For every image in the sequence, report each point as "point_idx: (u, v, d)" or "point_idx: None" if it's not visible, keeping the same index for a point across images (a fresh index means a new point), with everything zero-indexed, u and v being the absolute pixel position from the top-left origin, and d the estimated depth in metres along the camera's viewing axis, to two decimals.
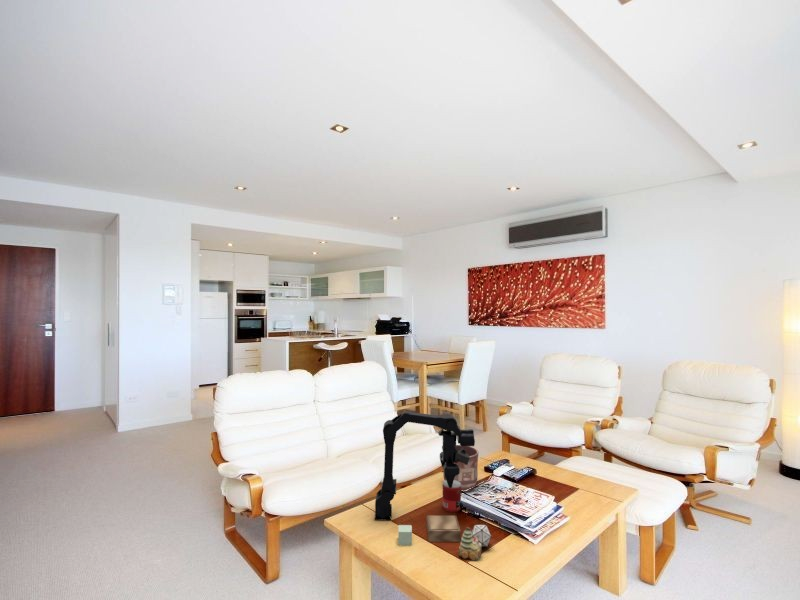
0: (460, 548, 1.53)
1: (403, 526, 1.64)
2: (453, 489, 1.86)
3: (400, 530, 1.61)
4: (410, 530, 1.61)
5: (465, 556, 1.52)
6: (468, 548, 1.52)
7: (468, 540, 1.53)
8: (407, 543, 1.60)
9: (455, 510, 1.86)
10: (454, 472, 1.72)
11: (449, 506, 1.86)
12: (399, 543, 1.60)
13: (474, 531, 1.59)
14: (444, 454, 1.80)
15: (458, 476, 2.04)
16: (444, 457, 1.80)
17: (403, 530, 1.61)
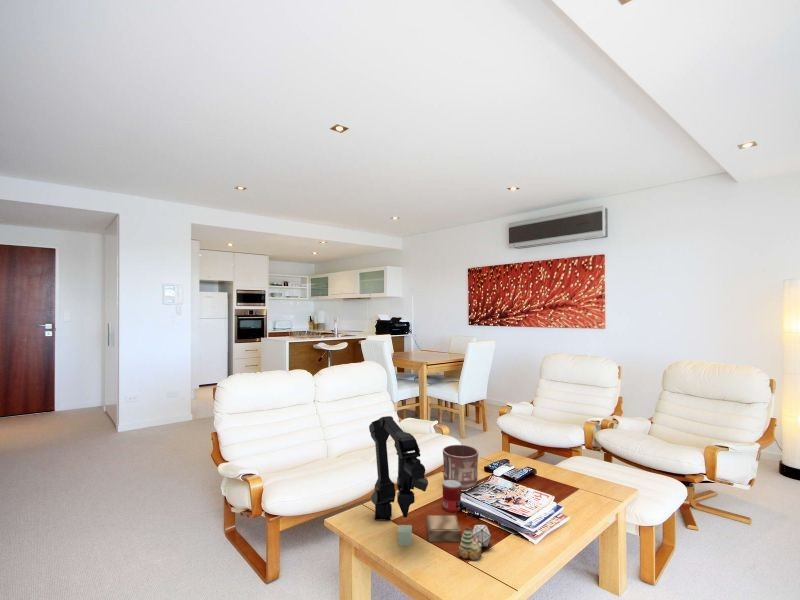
0: (460, 548, 1.53)
1: (403, 526, 1.64)
2: (453, 489, 1.86)
3: (400, 530, 1.61)
4: (410, 530, 1.62)
5: (465, 556, 1.52)
6: (468, 548, 1.52)
7: (468, 540, 1.53)
8: (407, 543, 1.60)
9: (455, 510, 1.86)
10: (408, 501, 1.54)
11: (449, 506, 1.86)
12: (399, 543, 1.60)
13: (474, 531, 1.59)
14: (399, 479, 1.61)
15: (458, 476, 2.04)
16: (399, 483, 1.61)
17: (403, 530, 1.62)
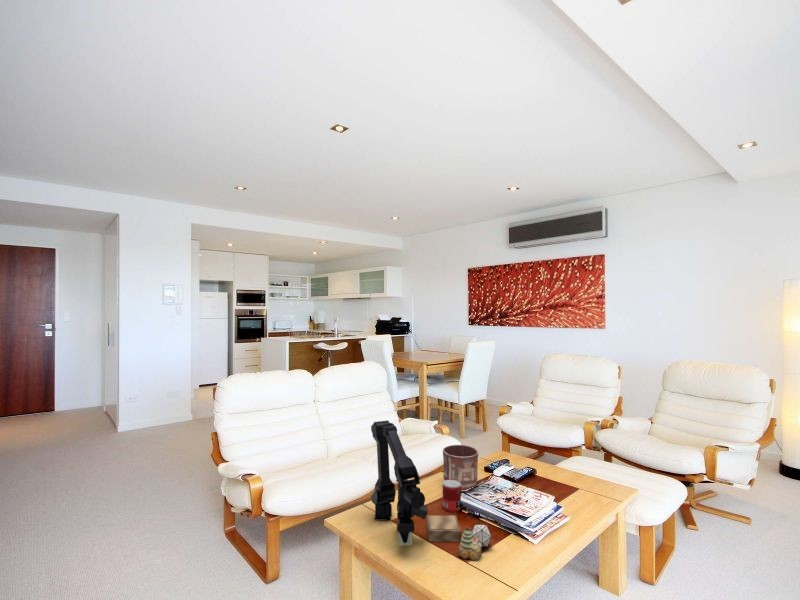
0: (460, 548, 1.53)
1: None
2: (453, 489, 1.86)
3: None
4: None
5: (465, 556, 1.52)
6: (468, 548, 1.52)
7: (468, 540, 1.53)
8: (407, 543, 1.60)
9: (455, 510, 1.86)
10: (408, 530, 1.54)
11: (449, 506, 1.86)
12: (399, 543, 1.60)
13: (474, 531, 1.59)
14: (399, 507, 1.61)
15: (458, 476, 2.04)
16: (399, 510, 1.61)
17: None
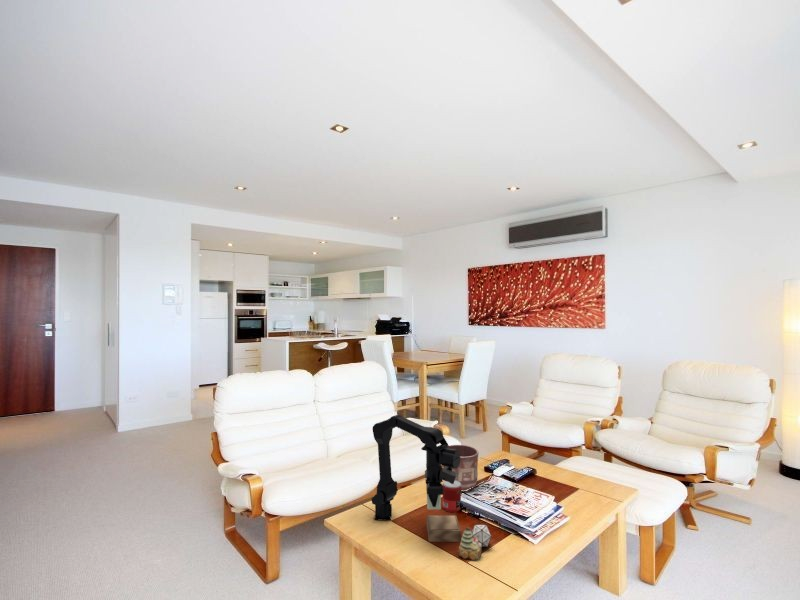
0: (460, 548, 1.53)
1: None
2: (453, 489, 1.86)
3: None
4: None
5: (465, 556, 1.52)
6: (468, 548, 1.52)
7: (468, 540, 1.53)
8: (436, 507, 1.65)
9: (455, 510, 1.86)
10: (437, 492, 1.58)
11: (449, 506, 1.86)
12: (428, 507, 1.65)
13: (474, 531, 1.59)
14: (428, 472, 1.66)
15: (458, 476, 2.04)
16: (428, 475, 1.66)
17: None
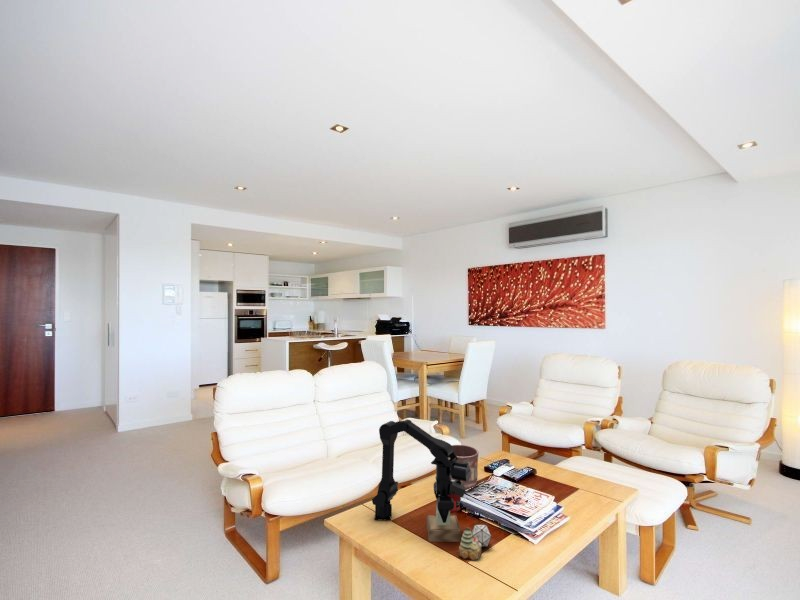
0: (460, 548, 1.53)
1: None
2: None
3: None
4: None
5: (465, 556, 1.52)
6: (468, 548, 1.52)
7: (468, 540, 1.53)
8: (446, 523, 1.67)
9: (455, 510, 1.86)
10: (448, 506, 1.60)
11: None
12: (438, 523, 1.67)
13: (474, 531, 1.59)
14: (438, 486, 1.67)
15: None
16: (438, 489, 1.67)
17: None
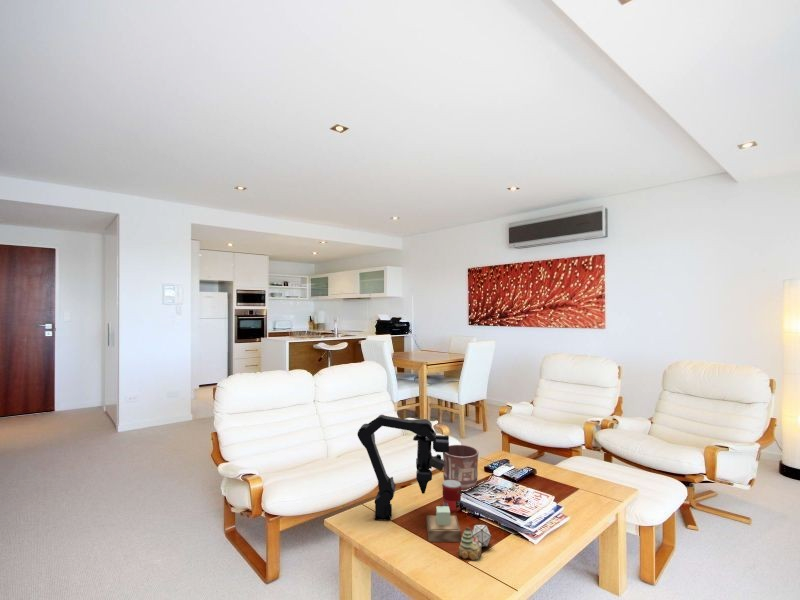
0: (460, 548, 1.53)
1: (441, 507, 1.70)
2: (453, 489, 1.86)
3: (439, 511, 1.68)
4: (448, 511, 1.68)
5: (465, 556, 1.52)
6: (468, 548, 1.52)
7: (468, 540, 1.53)
8: (446, 523, 1.67)
9: (455, 510, 1.86)
10: (426, 478, 1.71)
11: (449, 506, 1.86)
12: (438, 523, 1.67)
13: (474, 531, 1.59)
14: (418, 459, 1.79)
15: (458, 476, 2.04)
16: (418, 462, 1.79)
17: (441, 511, 1.68)
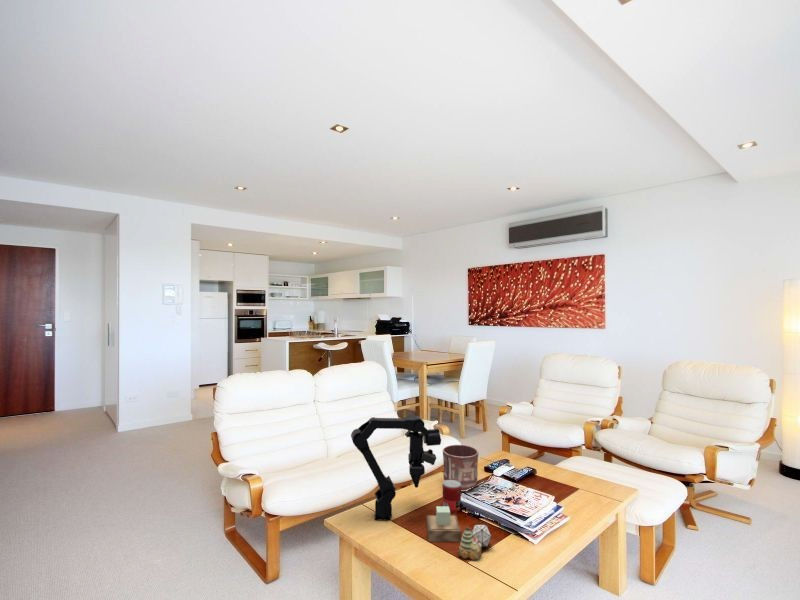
0: (460, 548, 1.53)
1: (441, 507, 1.70)
2: (453, 489, 1.86)
3: (439, 511, 1.68)
4: (448, 511, 1.68)
5: (465, 556, 1.52)
6: (468, 548, 1.52)
7: (468, 540, 1.53)
8: (446, 523, 1.67)
9: (455, 510, 1.86)
10: (419, 472, 1.76)
11: (449, 506, 1.86)
12: (438, 523, 1.67)
13: (474, 531, 1.59)
14: (411, 454, 1.83)
15: (458, 476, 2.04)
16: (411, 457, 1.83)
17: (441, 511, 1.68)
